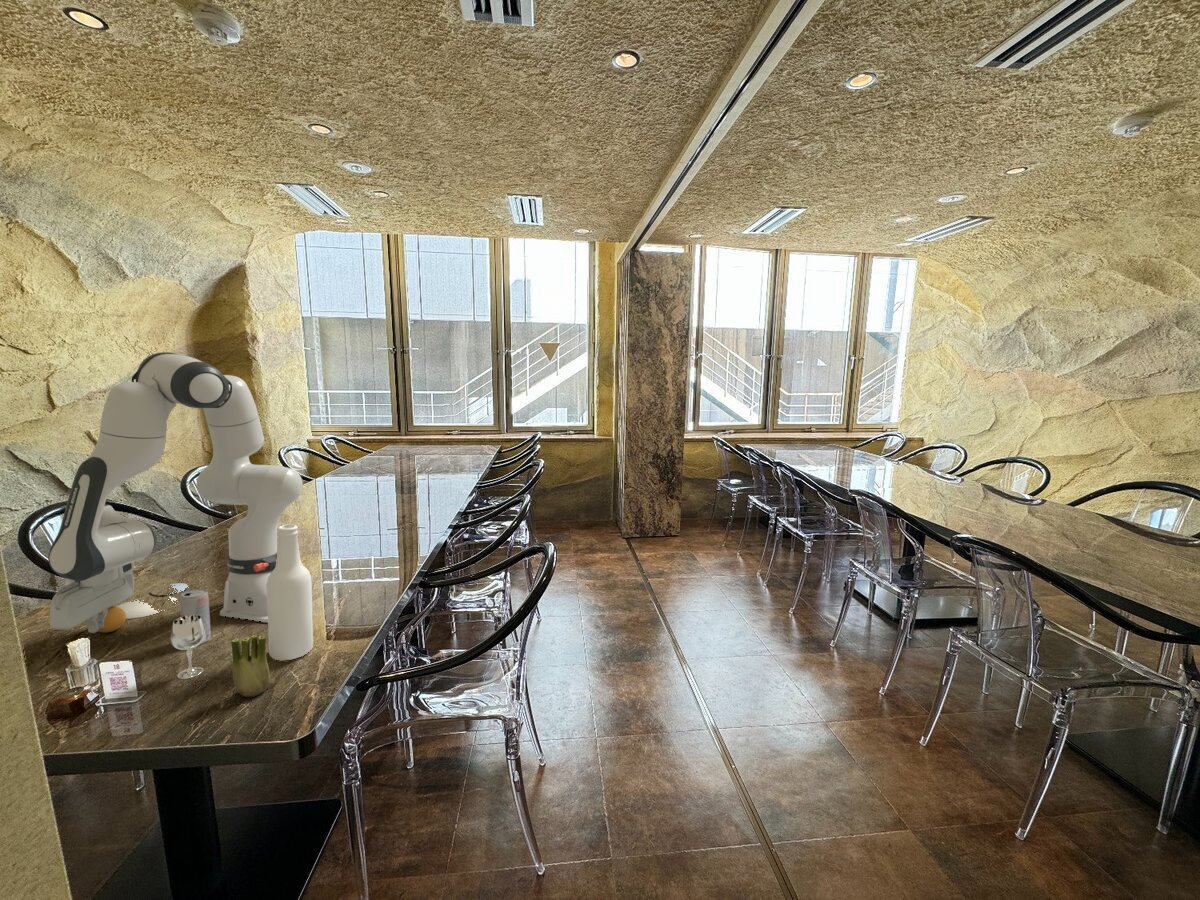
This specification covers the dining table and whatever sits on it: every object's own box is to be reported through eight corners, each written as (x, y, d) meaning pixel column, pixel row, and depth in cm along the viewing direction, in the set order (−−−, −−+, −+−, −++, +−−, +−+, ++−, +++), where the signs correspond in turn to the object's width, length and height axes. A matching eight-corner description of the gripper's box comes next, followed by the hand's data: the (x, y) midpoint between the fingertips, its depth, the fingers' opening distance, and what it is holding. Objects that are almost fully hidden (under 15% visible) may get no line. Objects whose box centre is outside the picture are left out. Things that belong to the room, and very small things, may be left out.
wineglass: (213, 666, 115) (210, 613, 114) (194, 681, 110) (191, 626, 108) (186, 665, 115) (183, 613, 113) (166, 680, 109) (162, 625, 108)
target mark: (189, 602, 145) (189, 602, 145) (128, 623, 132) (128, 622, 132) (158, 593, 150) (158, 592, 150) (96, 612, 137) (96, 611, 137)
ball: (130, 630, 129) (132, 605, 130) (99, 636, 124) (101, 610, 124) (117, 628, 131) (118, 603, 132) (85, 633, 126) (87, 608, 127)
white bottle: (264, 651, 122) (259, 525, 118) (306, 639, 128) (303, 519, 124) (275, 667, 116) (269, 534, 112) (318, 653, 122) (315, 527, 118)
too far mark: (196, 587, 155) (196, 586, 155) (162, 598, 147) (162, 597, 147) (177, 581, 159) (177, 581, 159) (142, 592, 150) (142, 591, 150)
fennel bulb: (230, 697, 105) (227, 640, 103) (250, 683, 109) (247, 629, 108) (256, 701, 104) (253, 644, 102) (275, 687, 109) (272, 632, 107)
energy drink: (187, 637, 127) (184, 589, 125) (214, 634, 129) (211, 587, 127) (178, 648, 122) (175, 598, 120) (206, 644, 124) (203, 596, 122)
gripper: (70, 590, 113) (75, 652, 114) (138, 559, 133) (141, 612, 134) (36, 591, 112) (41, 653, 113) (110, 559, 132) (113, 612, 133)
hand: (96, 630), depth 124 cm, fingers closed
